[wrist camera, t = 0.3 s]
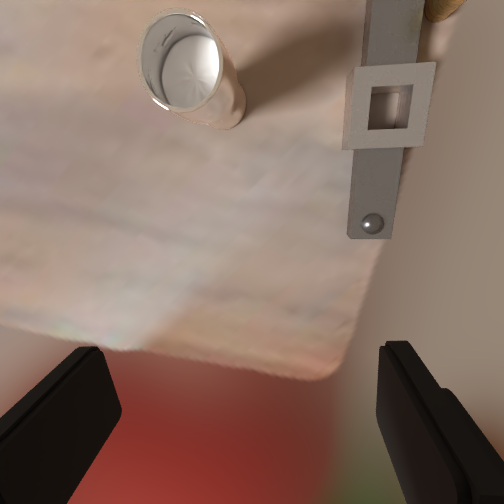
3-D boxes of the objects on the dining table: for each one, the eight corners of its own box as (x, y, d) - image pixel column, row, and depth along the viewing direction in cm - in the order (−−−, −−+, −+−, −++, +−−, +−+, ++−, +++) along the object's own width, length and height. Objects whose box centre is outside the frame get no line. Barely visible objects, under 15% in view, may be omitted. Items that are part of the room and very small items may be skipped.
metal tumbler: (186, 114, 35) (119, 83, 20) (211, 58, 32) (156, -20, 18) (232, 144, 35) (198, 133, 21) (260, 91, 33) (243, 40, 19)
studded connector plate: (355, -46, 28) (365, -74, 24) (438, -55, 27) (460, -86, 24) (335, 234, 38) (340, 241, 34) (395, 234, 37) (407, 241, 33)
